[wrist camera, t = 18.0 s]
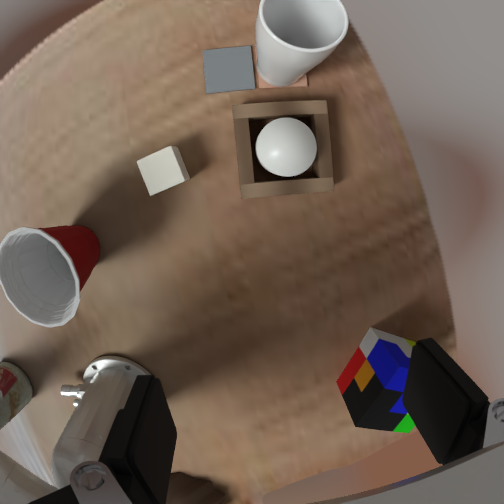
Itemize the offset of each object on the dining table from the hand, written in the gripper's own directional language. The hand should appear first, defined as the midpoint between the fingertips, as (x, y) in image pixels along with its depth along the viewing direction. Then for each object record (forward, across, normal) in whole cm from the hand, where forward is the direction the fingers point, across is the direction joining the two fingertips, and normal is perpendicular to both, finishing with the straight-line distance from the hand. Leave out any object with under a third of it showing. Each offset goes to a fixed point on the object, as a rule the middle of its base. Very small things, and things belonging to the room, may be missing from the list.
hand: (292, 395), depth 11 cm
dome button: (+28, -4, -9) cm, 29 cm away
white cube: (+28, +9, -8) cm, 31 cm away
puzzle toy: (+29, -17, +22) cm, 40 cm away
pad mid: (+28, +1, -19) cm, 34 cm away
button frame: (+28, -4, -9) cm, 30 cm away
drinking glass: (+28, -5, -19) cm, 34 cm away
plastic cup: (+28, +22, 0) cm, 36 cm away
